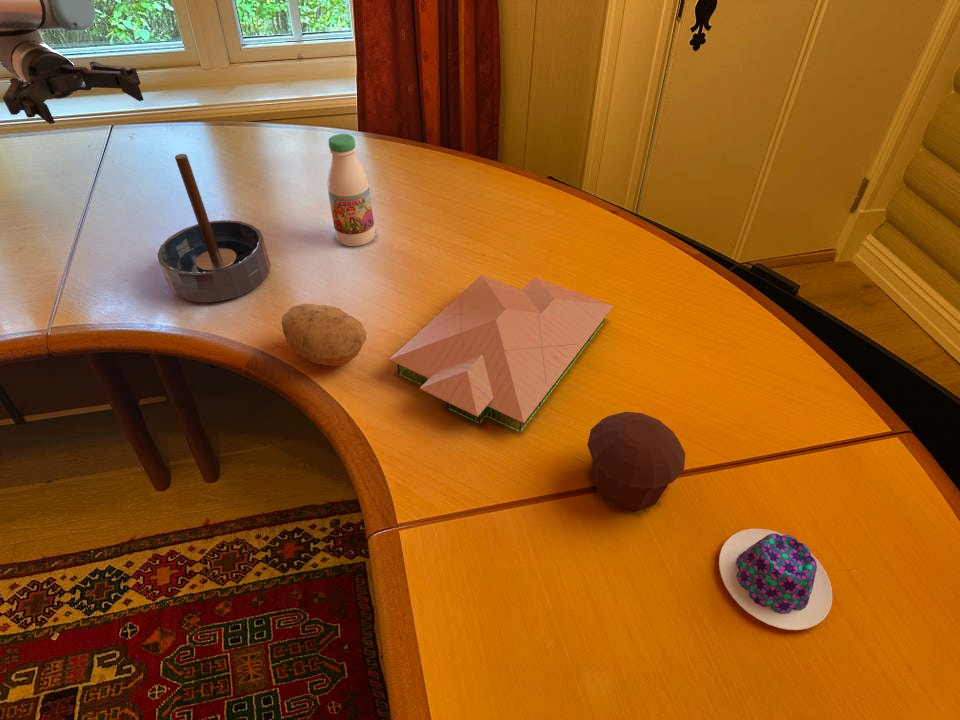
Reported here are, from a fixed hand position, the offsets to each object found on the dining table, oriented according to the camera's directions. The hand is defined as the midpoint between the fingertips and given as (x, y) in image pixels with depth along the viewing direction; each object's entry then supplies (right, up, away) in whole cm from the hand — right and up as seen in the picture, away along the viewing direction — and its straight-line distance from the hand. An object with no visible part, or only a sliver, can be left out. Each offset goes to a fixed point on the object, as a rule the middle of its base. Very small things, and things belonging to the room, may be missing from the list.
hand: (95, 103), depth 94 cm
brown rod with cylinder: (+13, -24, +15) cm, 32 cm away
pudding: (+93, -65, -26) cm, 117 cm away
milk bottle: (+35, -16, +26) cm, 47 cm away
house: (+64, -39, +2) cm, 75 cm away
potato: (+36, -39, +1) cm, 53 cm away
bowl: (+13, -25, +16) cm, 32 cm away
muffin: (+79, -56, -16) cm, 98 cm away
